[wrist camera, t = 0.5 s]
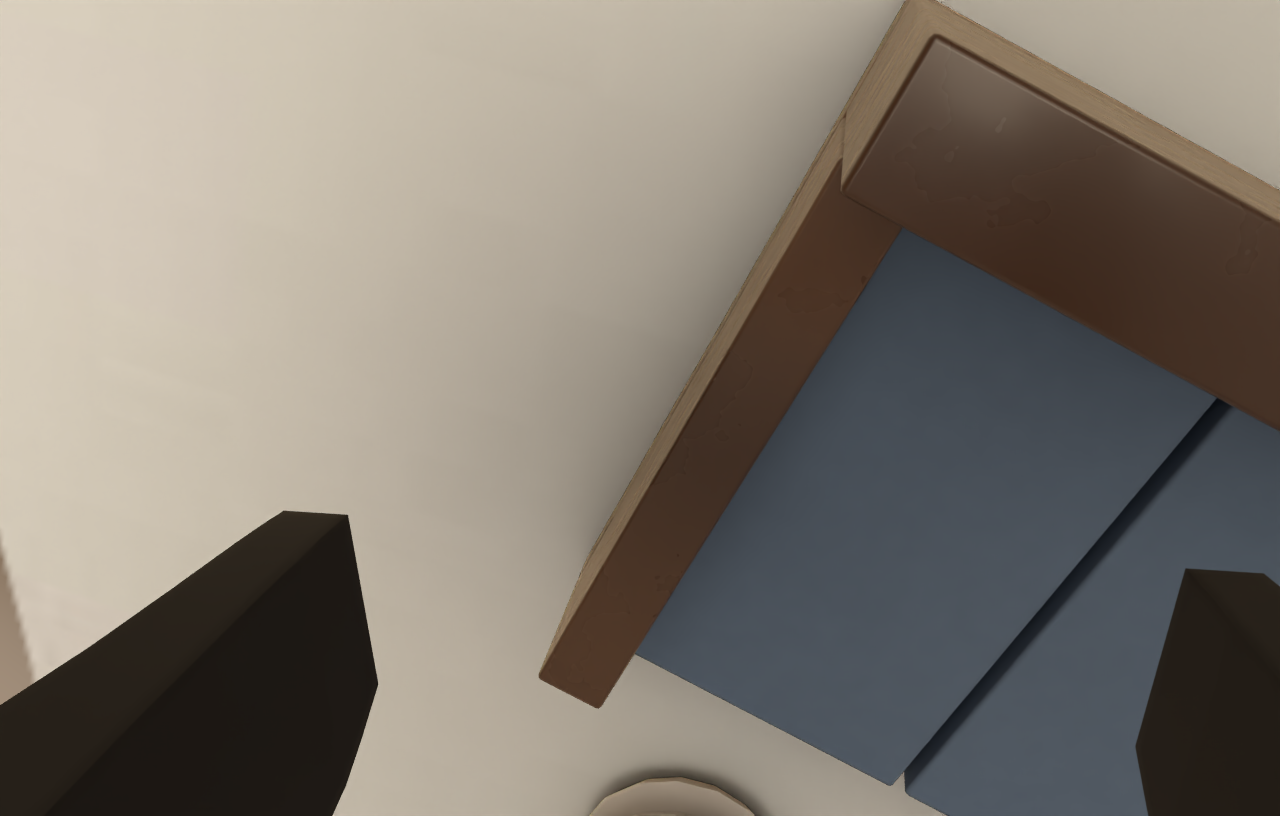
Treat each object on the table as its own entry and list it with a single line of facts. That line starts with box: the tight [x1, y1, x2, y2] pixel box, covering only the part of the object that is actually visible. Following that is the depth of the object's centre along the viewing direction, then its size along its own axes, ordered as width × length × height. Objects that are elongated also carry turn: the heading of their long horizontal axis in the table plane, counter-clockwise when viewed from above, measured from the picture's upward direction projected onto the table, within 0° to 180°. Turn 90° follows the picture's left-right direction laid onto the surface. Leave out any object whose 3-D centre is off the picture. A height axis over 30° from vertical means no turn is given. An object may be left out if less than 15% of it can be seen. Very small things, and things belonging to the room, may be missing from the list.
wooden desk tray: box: [539, 0, 1280, 816], centre depth 18 cm, size 12×20×6 cm, turn 64°
